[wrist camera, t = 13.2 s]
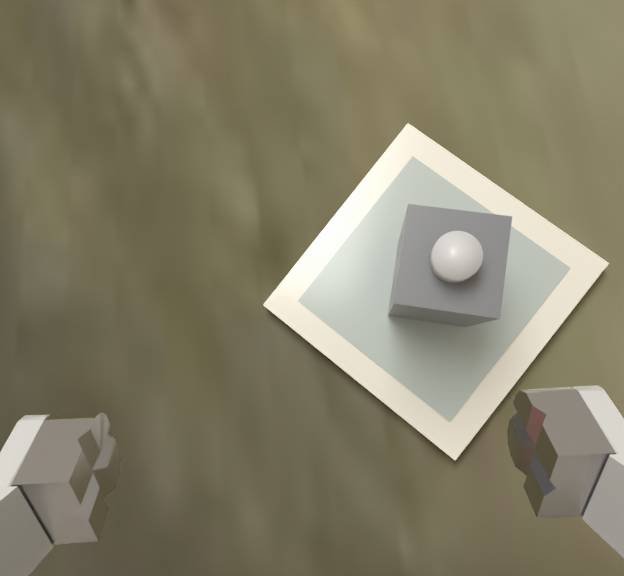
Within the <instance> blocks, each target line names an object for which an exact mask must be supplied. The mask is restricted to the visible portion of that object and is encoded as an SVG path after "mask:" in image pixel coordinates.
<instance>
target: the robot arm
mask: <svg viewBox="0 0 624 576" xmlns="http://www.w3.org/2000/svg"><path fill="white" fill-rule="evenodd" d="M514 405H515V408H516V410H517V412H518V413H517V414H516V415H514V416H513V417H512V418H511V419H510V421H509V426H508V445H509V449H510V453H511V457H512V459H513V462H514V464H515V467H517V468H518V469H519V470H520V471H522V472H523V473H524V474H525V475H527V477H526V481H525V484H524V488H525V491H526V493H527V495H528V498H529V500H530V503H531V505H532V507H533V510H534V512H535V514H536V517H537V518H548V517H583V518H582V519H583V520H584V521H585V522H586V523H587V524H588V525H589V526H590V527H591V528H592V529H593V530H594V531H595V532H596V533H598V534H599V535H600V536H601V537H602V538H603V539H604V540H605V541H606V542H607V543H608V544H609V545H610V546H611V547H612V548H614V549H615V550H616V551H617V552H618V553H619V554H620V555H621V556H622V557H623V558H624V418H623V417H622V415H621V414H620V412H619V411H618V410H617V408H616V407H615V405H614V404H613V402H612V401H611V399H610V398H609V396H608V395H607V394H606V392H605V391H604V389H603V388H601V387H600V386H598V385H594V386H578V387H559V388H543V389H528V390H520V391H519V392H518V393H517V394H516V397H515V401H514ZM109 428H110V423H109V421H108V419H107V417H106V414H104V413H76V414H50V415H25V416H24V417H23V418H21V419H20V420H19V421H18V422H17V424H16V425H15V427H14V429H13V431H12V432H11V434H10V436H9V438H8V439H7V441H6V443H5V445H4V446H3V448H2V450H1V452H0V576H28V575H29V574H30V573H31V572H32V571H33V570H34V569H35V568H36V566H37V565H38V564H39V563H40V562H41V561H42V560H43V559H44V557H45V556H46V555H47V554H48V553H49V552H50V551H51V550H52V548H53V545H54V544H67V543H79V542H91V541H98V540H99V537H100V534H101V531H102V528H103V525H104V522H105V519H106V516H107V513H108V509H109V508H108V506H107V503H106V501H105V499H104V498H105V497H106V496H107V495H108V494H109V493H110V492H112V491H113V490H114V489H115V488H116V484H117V481H118V477H119V473H120V462H121V458H120V450H119V446H118V444H117V441H116V440H115V439H114V438H112V437H111V436H109V435H108V434H107V433H108V430H109Z"/></svg>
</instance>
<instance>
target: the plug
mask: <svg viewBox="0 0 624 576" xmlns="http://www.w3.org/2000/svg"><path fill="white" fill-rule="evenodd" d="M511 223H512V216H505V215H497V214H488V213H480V212H472V211H463V210H455V209H447V208H439V207H430V206H422V205H414V204H408V206H407V210H406V214H405V218H404V222H403V225H402V229H401V233H400V237H399V241H398V247H397V254H396V261H395V268H394V275H393V283H392V290H391V297H390V304H389V311H388V316H393V317H400V318H407V319H414V320H420V321H427V322H434V323H441V324H447V325H454V326H461V327H468V326H472V325H476V324H481V323H485V322H489V321H493V320H497V319H500V315H501V306H502V298H503V289H504V281H505V273H506V264H507V256H508V248H509V239H510V231H511Z"/></svg>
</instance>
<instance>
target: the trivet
mask: <svg viewBox="0 0 624 576" xmlns="http://www.w3.org/2000/svg"><path fill="white" fill-rule="evenodd" d="M408 204H414V205H422V206H430V207H439V208H447V209H455V210H463V211H472V212H480V213H488V214H497V215H505V216H512V223H511V231H510V239H509V248H508V256H507V264H506V273H505V281H504V289H503V298H502V306H501V315H500V319H497V320H493V321H489V322H485V323H481V324H476V325H472V326H468V327H461V326H454V325H447V324H441V323H434V322H427V321H420V320H414V319H407V318H400V317H393V316H388V311H389V304H390V297H391V290H392V283H393V275H394V268H395V261H396V254H397V247H398V241H399V237H400V233H401V229H402V225H403V222H404V218H405V214H406V210H407V206H408ZM608 264H609V263H608V262H606V261H605V260H603V259H602V258H601V257H599V256H598V255H596V254H595V253H593V252H592V251H590V250H589V249H588V248H586V247H585V246H583V245H582V244H580V243H579V242H578V241H576V240H575V239H573V238H572V237H570V236H569V235H568V234H566V233H565V232H563V231H562V230H560V229H559V228H558V227H556V226H555V225H553V224H552V223H550V222H549V221H547V220H546V219H545V218H543V217H542V216H540V215H539V214H537V213H536V212H535V211H533V210H532V209H530V208H529V207H527V206H526V205H525V204H523V203H522V202H520V201H519V200H517V199H516V198H515V197H513V196H512V195H510V194H509V193H507V192H506V191H504V190H503V189H502V188H500V187H499V186H497V185H496V184H494V183H493V182H492V181H490V180H489V179H487V178H486V177H484V176H483V175H482V174H480V173H479V172H477V171H476V170H474V169H473V168H471V167H470V166H469V165H467V164H466V163H464V162H463V161H461V160H460V159H459V158H457V157H456V156H454V155H453V154H451V153H450V152H449V151H447V150H446V149H444V148H443V147H441V146H440V145H439V144H437V143H436V142H434V141H433V140H431V139H430V138H428V137H427V136H426V135H424V134H423V133H421V132H420V131H418V130H417V129H416V128H414V127H413V126H411V125H410V124H407V125H406V126H405V127H404V129H403V130H402V131H401V132H400V134H399V135H398V136H397V137H396V139H395V140H394V141H393V143H392V144H391V145H390V146H389V148H388V149H387V150H386V151H385V153H384V154H383V155H382V156H381V158H380V159H379V160H378V161H377V163H376V164H375V165H374V166H373V168H372V169H371V170H370V171H369V173H368V174H367V175H366V176H365V178H364V179H363V180H362V181H361V183H360V184H359V185H358V186H357V188H356V189H355V190H354V191H353V193H352V194H351V195H350V196H349V198H348V199H347V200H346V202H345V203H344V204H343V205H342V207H341V208H340V209H339V210H338V212H337V213H336V214H335V215H334V217H333V218H332V219H331V220H330V222H329V223H328V224H327V225H326V227H325V228H324V229H323V230H322V232H321V233H320V234H319V235H318V237H317V238H316V239H315V240H314V242H313V243H312V244H311V245H310V247H309V248H308V249H307V250H306V252H305V253H304V254H303V255H302V257H301V258H300V259H299V261H298V262H297V263H296V264H295V266H294V267H293V268H292V269H291V271H290V272H289V273H288V274H287V276H286V277H285V278H284V279H283V281H282V282H281V283H280V284H279V286H278V287H277V288H276V289H275V291H274V292H273V293H272V294H271V296H270V297H269V298H268V299H267V301H266V302H265V303H264V304H263V305H264V306H265V307H266V308H267V309H269V310H270V311H271V312H272V313H273V314H275V315H276V316H277V317H278V318H280V319H281V320H282V321H283V322H285V323H286V324H287V325H288V326H290V327H291V328H292V329H293V330H294V331H296V332H297V333H298V334H299V335H301V336H302V337H303V338H304V339H306V340H307V341H308V342H309V343H310V344H312V345H313V346H314V347H315V348H317V349H318V350H319V351H320V352H322V353H323V354H324V355H325V356H327V357H328V358H329V359H330V360H331V361H333V362H334V363H335V364H336V365H338V366H339V367H340V368H341V369H343V370H344V371H345V372H346V373H348V374H349V375H350V376H351V377H352V378H354V379H355V380H356V381H357V382H359V383H360V384H361V385H362V386H364V387H365V388H366V389H367V390H368V391H370V392H371V393H372V394H373V395H375V396H376V397H377V398H378V399H380V400H381V401H382V402H383V403H385V404H386V405H387V406H388V407H389V408H391V409H392V410H393V411H394V412H396V413H397V414H398V415H399V416H401V417H402V418H403V419H404V420H406V421H407V422H408V423H409V424H410V425H412V426H413V427H414V428H415V429H417V430H418V431H419V432H420V433H422V434H423V435H424V436H425V437H426V438H428V439H429V440H430V441H431V442H433V443H434V444H435V445H436V446H438V447H439V448H440V449H441V450H443V451H444V452H445V453H446V454H447V455H449V456H450V457H451V458H452V459H454V460H456V459H457V458H458V456H459V455H460V454H461V453H462V451H463V450H464V449H465V447H466V446H467V445H468V444H469V442H470V441H471V440H472V438H473V437H474V436H475V435H476V433H477V432H478V431H479V429H480V428H481V427H482V426H483V424H484V423H485V422H486V420H487V419H488V418H489V417H490V415H491V414H492V413H493V411H494V410H495V409H496V408H497V406H498V405H499V404H500V403H501V401H502V400H503V399H504V397H505V396H506V395H507V394H508V392H509V391H510V390H511V388H512V387H513V386H514V385H515V383H516V382H517V381H518V379H519V378H520V377H521V376H522V374H523V373H524V372H525V370H526V369H527V368H528V367H529V365H530V364H531V363H532V361H533V360H534V359H535V358H536V356H537V355H538V354H539V352H540V351H541V350H542V349H543V347H544V346H545V345H546V343H547V342H548V341H549V340H550V338H551V337H552V336H553V334H554V333H555V332H556V331H557V329H558V328H559V327H560V325H561V324H562V323H563V322H564V320H565V319H566V318H567V316H568V315H569V314H570V313H571V311H572V310H573V309H574V307H575V306H576V305H577V304H578V302H579V301H580V300H581V298H582V297H583V296H584V295H585V293H586V292H587V291H588V289H589V288H590V287H591V286H592V284H593V283H594V282H595V280H596V279H597V278H598V277H599V275H600V274H601V273H602V271H603V270H604V269H605V268H606V266H607V265H608Z"/></svg>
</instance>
